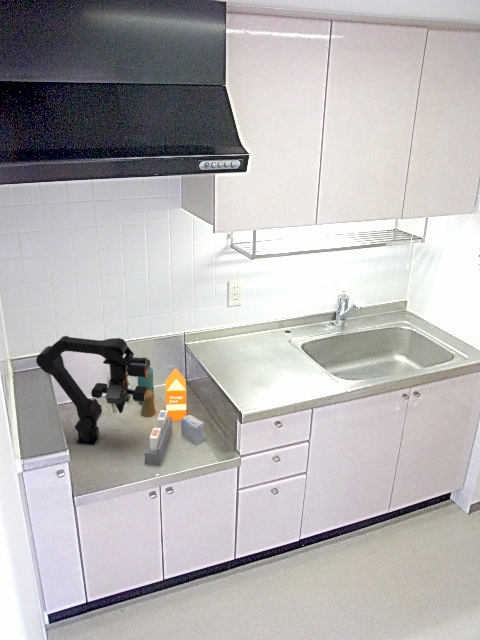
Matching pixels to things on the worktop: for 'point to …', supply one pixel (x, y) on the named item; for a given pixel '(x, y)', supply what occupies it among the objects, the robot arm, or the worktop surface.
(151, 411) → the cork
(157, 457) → the grey holder stand
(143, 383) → the beverage bottle
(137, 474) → the worktop surface
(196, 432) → the medicine box
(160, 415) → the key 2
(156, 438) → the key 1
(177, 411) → the orange juice
